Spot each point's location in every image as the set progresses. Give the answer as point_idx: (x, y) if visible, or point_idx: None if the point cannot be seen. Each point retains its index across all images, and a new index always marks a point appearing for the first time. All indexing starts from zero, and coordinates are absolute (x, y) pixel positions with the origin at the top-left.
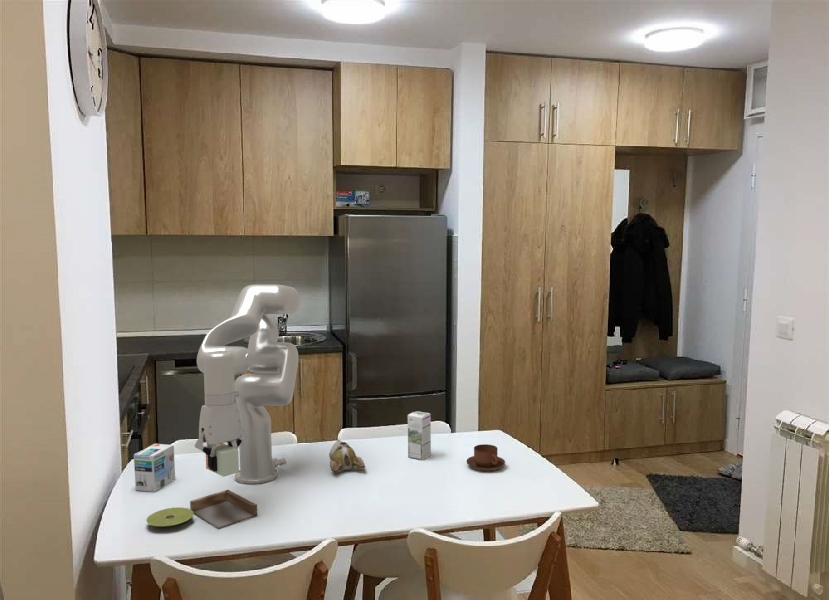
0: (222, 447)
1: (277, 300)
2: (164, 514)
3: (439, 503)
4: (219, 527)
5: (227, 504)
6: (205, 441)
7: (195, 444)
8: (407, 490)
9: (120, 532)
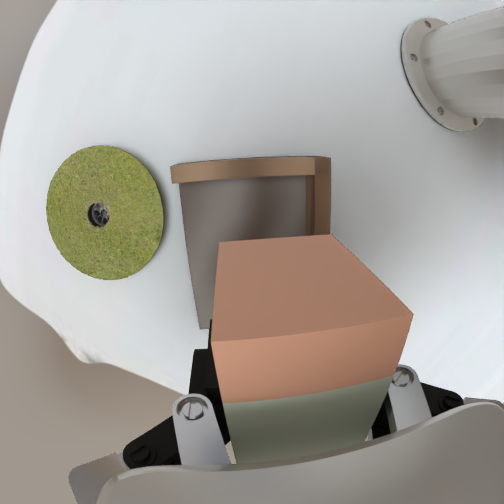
0: (316, 437)
1: None
2: (88, 187)
3: (468, 394)
4: (202, 328)
5: (292, 203)
6: (179, 468)
7: (74, 488)
8: (494, 348)
9: (16, 185)
